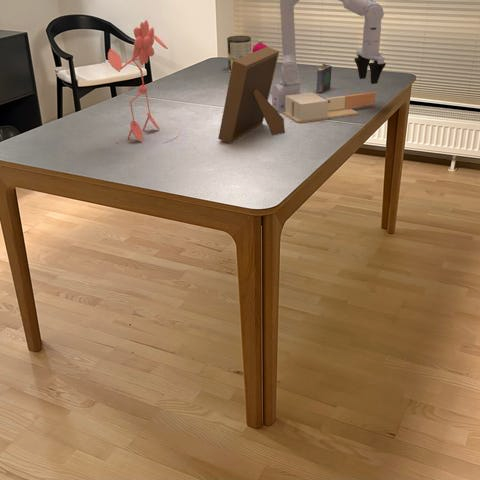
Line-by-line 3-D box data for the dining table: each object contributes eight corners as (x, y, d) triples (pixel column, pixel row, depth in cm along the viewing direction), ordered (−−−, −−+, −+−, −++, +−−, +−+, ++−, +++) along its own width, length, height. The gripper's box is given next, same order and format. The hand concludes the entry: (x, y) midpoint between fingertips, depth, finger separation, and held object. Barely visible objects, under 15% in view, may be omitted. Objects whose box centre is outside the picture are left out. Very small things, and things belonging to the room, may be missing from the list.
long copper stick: (324, 111, 211) (325, 99, 210) (322, 110, 212) (323, 98, 211) (374, 103, 218) (375, 92, 216) (372, 103, 219) (373, 91, 217)
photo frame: (218, 141, 189) (215, 58, 177) (251, 122, 206) (250, 45, 194) (261, 149, 183) (262, 63, 171) (291, 128, 199) (294, 49, 187)
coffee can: (223, 70, 272) (222, 37, 266) (241, 67, 278) (240, 34, 272) (238, 74, 265) (237, 40, 259) (256, 70, 271) (255, 37, 265)
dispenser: (297, 123, 204) (298, 104, 201) (282, 113, 213) (282, 95, 210) (358, 114, 211) (359, 96, 208) (341, 105, 220) (341, 88, 218)
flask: (321, 93, 235) (322, 65, 230) (314, 92, 236) (315, 64, 231) (331, 88, 242) (333, 60, 237) (325, 87, 243) (326, 59, 238)
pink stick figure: (110, 147, 187) (97, 26, 170) (153, 122, 208) (146, 13, 191) (154, 154, 182) (145, 30, 165) (194, 128, 203) (189, 16, 186)
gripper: (393, 43, 202) (389, 84, 208) (370, 35, 214) (367, 75, 220) (375, 45, 200) (371, 86, 206) (352, 37, 212) (349, 77, 218)
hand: (368, 81), depth 213 cm, fingers open, 7 cm apart
